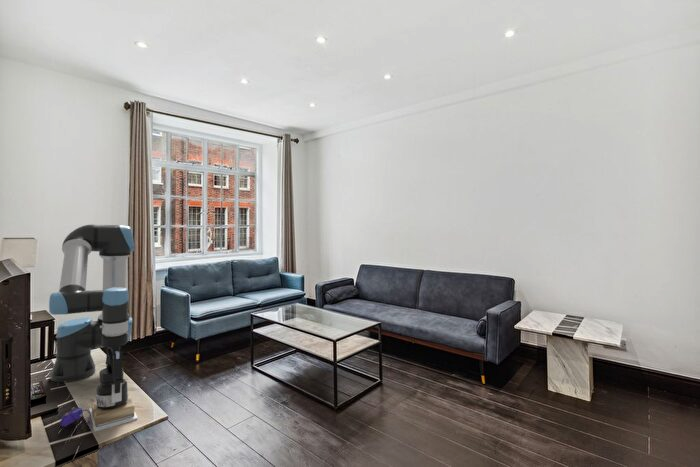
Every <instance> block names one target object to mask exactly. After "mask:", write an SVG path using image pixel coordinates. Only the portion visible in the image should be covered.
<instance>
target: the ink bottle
mask: <svg viewBox="0 0 700 467" xmlns="http://www.w3.org/2000/svg"><path fill="white" fill-rule="evenodd" d="M122 368H123V369H124V366H122ZM98 375H99V385H98V386H97V387H96V394H95V395H96V402H97V407H98V408H99V409H102V410H107V409H113V408H116V407H118V406H120V405H122V404H124V403H125V402H126V401H127V400H128V394H129V393H128V381H127V380H126V379H124V378H123V380H124V381H123V383H122V401H119V402H115V403H112V385H110V383H111V382H113V377H112V366H111V367H108V368H107V367H105V368H103V369H101V370H100V371H99V374H98ZM117 380H118V379H117Z"/></svg>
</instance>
